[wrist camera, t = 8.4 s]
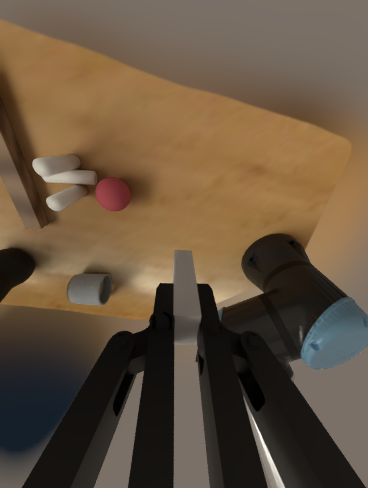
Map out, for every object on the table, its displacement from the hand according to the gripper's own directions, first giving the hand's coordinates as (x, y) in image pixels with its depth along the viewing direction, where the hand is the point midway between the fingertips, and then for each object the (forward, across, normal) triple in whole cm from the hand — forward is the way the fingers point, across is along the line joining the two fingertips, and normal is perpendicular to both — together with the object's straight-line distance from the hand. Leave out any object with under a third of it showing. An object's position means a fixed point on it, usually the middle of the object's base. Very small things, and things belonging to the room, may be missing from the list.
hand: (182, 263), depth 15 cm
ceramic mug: (+23, +21, +24) cm, 40 cm away
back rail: (+22, +29, -5) cm, 37 cm away
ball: (+20, +12, 0) cm, 23 cm away
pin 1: (+23, +19, -5) cm, 30 cm away
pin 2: (+23, +19, 0) cm, 30 cm away
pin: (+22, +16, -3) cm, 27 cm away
